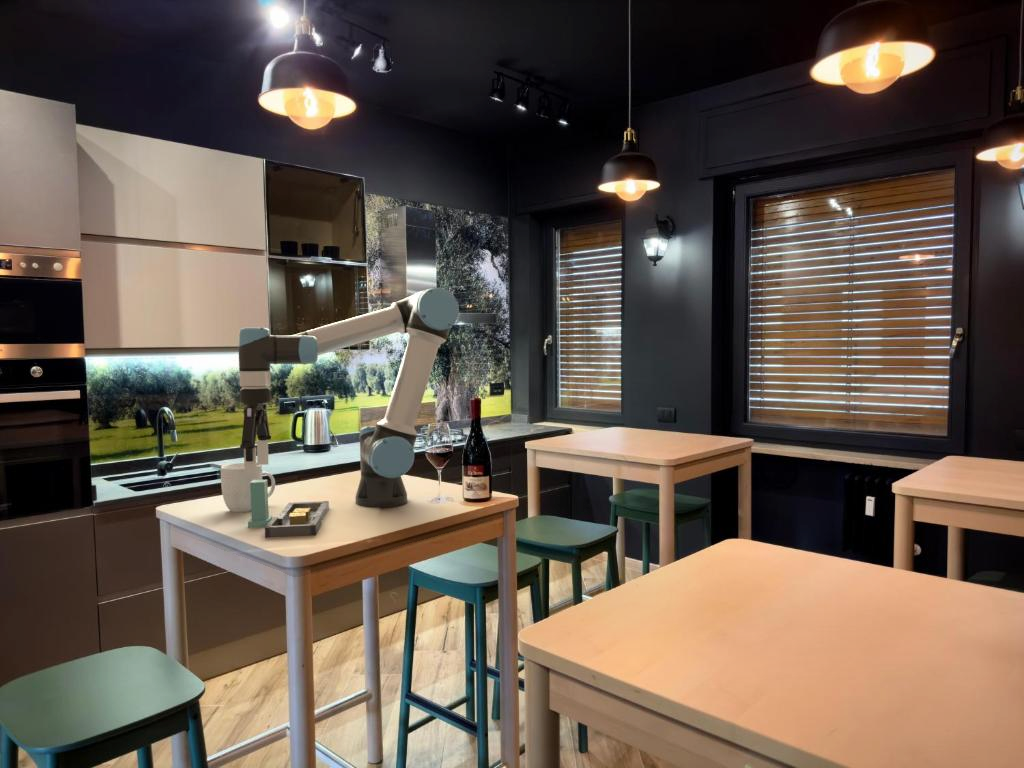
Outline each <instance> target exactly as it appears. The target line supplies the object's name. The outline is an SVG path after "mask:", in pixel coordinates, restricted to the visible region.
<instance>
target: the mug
mask: <svg viewBox="0 0 1024 768" xmlns="http://www.w3.org/2000/svg"><path fill="white" fill-rule="evenodd" d="M256 472H257V473H256V474H245V471H244V462H236V463H234V462H233V463H228V464H224V465H221V467H220V484H221V485H220V486H221V494H222V498H223V502H224V503H225V506H226V508H227V509H228V510H229V512H231V513H244V512H245V513H247V512H251V491H250V482H252V481H253V480H263V476H268V478H269V479H270V482H271V486H270V490H269V491H268V499H269V498H271V496H272V495H273V494H274V492H275V489H276V479H275V477H274V476H273V474H272V473H271V472H268V471H263V465H257V462H256Z"/></svg>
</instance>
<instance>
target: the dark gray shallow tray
mask: <svg viewBox="0 0 1024 768" xmlns="http://www.w3.org/2000/svg"><path fill="white" fill-rule="evenodd" d="M329 504H330V503H329V500H322V501H318V500H317V501H301V502H300V501H299V502H298V501H297V502H288V503H287V505H286V506H285V507H284V508H283V510H281V512H280V513H279V514H278V516H277V517H278V521H279V526H283V525H290V521H289V516H290V513H293V511H294V510H295V509H296V508H311V518H310V519H309V521H306V524H312V522H313V520H314V519H315V517H316V515H321V520H322V521H323V520H324V517H325V516H326V514H327V513H328V510H329V509H330V505H329Z"/></svg>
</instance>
